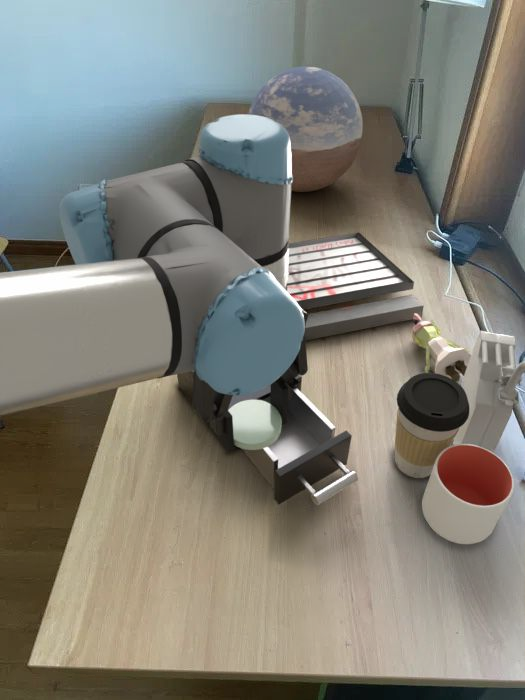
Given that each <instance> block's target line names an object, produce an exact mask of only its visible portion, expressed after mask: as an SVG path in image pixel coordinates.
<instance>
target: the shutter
mask: <svg viewBox="0 0 525 700" xmlns="http://www.w3.org/2000/svg"><path fill="white" fill-rule="evenodd" d="M288 245H289V262H288V281H287V292H288V293H289V294H290V296H291V297H292V298H293V299H294V300H295V301H296V302H297V303H298V305H299V306H300V307H301V308H302V309H303V310H307V309H313V308H319V307H323V306H329V305H335V304H341V303H345V302H350V301H356V300H362V299H367V298H373V297H379V296H383V295H384V296H385V295H389V294H394V293H400V292H405V291H410V290H414V287H415V286H414V285H415V281H414V280H412V279H411V278H410V277H409V276H408V275H407V274H406V273H405V272H404V271H403V270H402V269H400V268H399V267H398V266H397V265H396V264H395V263H394V262H392V261H391V260H390V258H388V257H387V256H386V255H385V254H383V252H382V251H380V250H379V249H378V248H377V247H376V246H375V245H374V244H373V243H371V242H370V241H369V240H368V238H366V237H365V236H363V234H362V233H360V232H358V231H357V232H353V233H347V234H346V233H345V234H340V235H339V234H338V235H333V236H327V237H320V238H313V239H308V240H300V241H296V242H295V241H294V242H288ZM424 306H425V305H424V304H423V303H422V302H421V301H420V300H419V299H418V298H416V297H415V295H413V294H409V295H408V294H407V295H403V296H398V297H391V298H387V299H382V300H375V301H371V302H365V303H360V304H354V305H349V306H343V307H338V308H333V309H328V310H322V311H316V312H312V313H307V314H308V318H307V322H306V326H305V340H306V341H310V340H314V339H319V338H325V337H329V336H333V335H340V334H345V333H349V332H355V331H360V330H364V329H371V328H375V327H381V326H385V325H390V324H395V323H401V322H406V321H411V320H414V319H413V317H414V314H415V313H416V314H418V315H419V316H420V317H421V318H423V313H424Z"/></svg>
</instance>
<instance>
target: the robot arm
mask: <svg viewBox="0 0 525 700" xmlns="http://www.w3.org/2000/svg"><path fill="white" fill-rule="evenodd" d="M199 135H200V136H199V146H198V148H197V149H198V153H199V155H197V156H193V157H192V158H187V159H185V160H184V161H181V162H179V163H178V162H177V163H173V164H170V165H165V166H162V167H157V168H153V169H149V170H145V171H141V172H137V173H133V174H129V175H125V176H120V177H117V178H113V179H103V180H101V181H100V182H99V183H95V184H93V185H90V186H87V187H84V188H81V189H78V190H75V191H72V192H69V193H68V194H66V195H65V196H64V197H63V198H62V199H61V201H60V204H59V219H60V224H61V229H62V232H63V236H64V239H65V241H66V244H67V247H68V250H69V252H70V254H71V257H72V260H73V261H74V264H70V265H69V264H68V265H57V266H50V267H40V268H31V269H21V270H14V271H4V272H0V417H3V416H7V415H12V414H16V413H19V412H23V411H28V410H33V409H37V408H40V407H44V406H48V405H53V404H57V403H61V402H65V401H69V400H73V399H77V398H81V397H82V398H83V397H85V396H89V395H95V394H97V393H102V392H107V391H110V390H115V389H118V388H123V387H127V386H131V385H135V384H139V383H144V382H147V381H153V380H155V379H157V380H158V379H161V378H166V377H171V376H177V374H181V373H185V372H189V371H194V374H193V401H192V403H191V404H192V405H191V407H192V410H193V412H195V414H196V415H197V417H198V418H199V419H200V420H201V422H202V423H203V424H207V423H208V422H209V421H210V426H211V428H212V429H213V430H214V431H215V433H216V434H217V435H218V437H217V440H218V441H219V442H220V444H221V445H222V447H224V449H225V450H226V451H227V452H228V454H231V453H233V452H235V448H234V435H233V418H232V415H231V414H230V412H229V411H228V408H229V405H230V402H231V399H232V396H245V395H250V394H253V393H256V392H258V391H260V390H262V389H264V388H266V387H268V386H269V385H271V389H270V404H271V405H273V406H274V407H275V408H276V409H277V410H278V411H279V413H280V415H281V419H282V425H284V424H286V423H287V411H288V400H290V399H291V397H292V390H293V389H295V388H297V387H298V385H299V381H298V380H297V379H296V377H297V376H298V375H300V376H301V377H303V376H305V375H306V374H307V373H308V370H309V367H308V356H307V342H306V341H307V340H305V326H306V322H307V318H308V314H309V313H307V312H306V311H305V309H302V308H301V307H300V306H299V305H298V303H297V302H296V301H295V300H294V299H293V298H292V297H291V296H290V294H289V293H288V292H287V281H288V262H289V245H288V243H290V241H289V239H290V220H291V219H290V218H291V201H292V200H291V199H292V191H291V184H292V181H293V176H292V155H291V144H290V137H289V134H288V132H287V130H286V129H285V128H284V127H283V126H282V125H281V124H279V123H277V122H275V121H274V120H272V119H270V118H267V117H263V116H258V115H249V114H248V113H246V114H243V113H242V114H241V113H239V114H230V115H229V114H228V115H224V116H221V117H217V118H216V119H214V120H213V121H212V122H209V123H207V124H206V125H205V126H203V128H202V130H201V131H200V134H199ZM210 426H209V427H210ZM211 428H210V429H211ZM212 429H211V430H212ZM213 430H212V431H213ZM215 433H214V434H215ZM216 434H215V435H216ZM217 435H216V436H217Z"/></svg>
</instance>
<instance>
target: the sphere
mask: <svg viewBox="0 0 525 700" xmlns="http://www.w3.org/2000/svg"><path fill="white" fill-rule="evenodd" d="M247 114H249V115H258V116H263V117H267V118H270V119H272V120H274V121H275V122H277V123H279V124H281V125H282V126H283V127H284V128H285V129H286V130H287V132H288V134H289V137H290V144H291V155H292V176H293V181H292V184H291V192H296V193H297V192H298V193H307V192H308V193H309V192H313V191H318V190H322V189H324V188H326V187H328V186H331V185H332V184H334V183H335V182H336V181H338V180H340V178H341V177H342V176H343V175H345V173H347V171H348V170H349V169H351V166H352V165H353V163H354V161H355V160H356V158H357V155H358V153H359V150H360V146H361V142H362V136H363V129H364V127H363V126H364V124H363V123H364V122H363V114H362V111H361V107H360V105H359V103H358V101H357V97H356V96H355V95H354V93H353V92H352V90H351V89H350V87H349V86H348V84H346V82H344V81H343V79H341V78H340V77H338V76H337V75H335V74H334V73H332V72H331V71H328V70H326V69H323V68H320V67H317V66H306V65H304V66H297V67H293V68H289V69H285V70H283V71H282V72H279V73H277V74H276V75H274V76H273V77H271V78H270V79H269V80H268V81H266V82H265V83H264V84H263V85H262V87H261V88H260V89H259V91H258V92H257V94H256V95H255V97H254V98H253V100H252V102H251V104H250V107H249V109H248V111H247Z"/></svg>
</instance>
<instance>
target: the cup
mask: <svg viewBox="0 0 525 700" xmlns="http://www.w3.org/2000/svg"><path fill="white" fill-rule="evenodd" d="M514 491H515V480H514V475H513V473H512V471H511V469H510V468H509V466H508V465H507V464H506V462H505V461H504V460H503V459H502V458H501V457H500V456H498V455H497V454H496V453H495V452H494V453H493V452H491V451H489V450H487V449H485V448H482V447H479V446H476V445H471V444H457V445H453V444H452V445H450V446H449V447H448V448H446V449H444V450H443V451H442V452H441V453H440V454H439V455H438V457H437V458H436V461H435V464H434V467H433V470H432V472H431V475H429V479H428V482H427V485H426V487H425V490H424V493H423V495H422V499H421V510H422V514H423V518H424V519H425V521H426V522H427V524H428V525H429V527H430V528H431V529H432V530H433V531H434V533H436V534H437V535H438V536H440V537H441V538H443V539H445V540H447V541H449V542H452V543H454V544H458V545H474V544H478V543H480V542H482V541H484V540H486V539H487V538H489V536H490V535H491V534H492V533H493V531H494V530H495V528H496V526H497V524H498V522H499V520H500V518H501V516H502V514H503V513H504V511H505V510H506V507H507V505H508V504H509V501H510V499H511V498H512V496H513V493H514Z"/></svg>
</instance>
